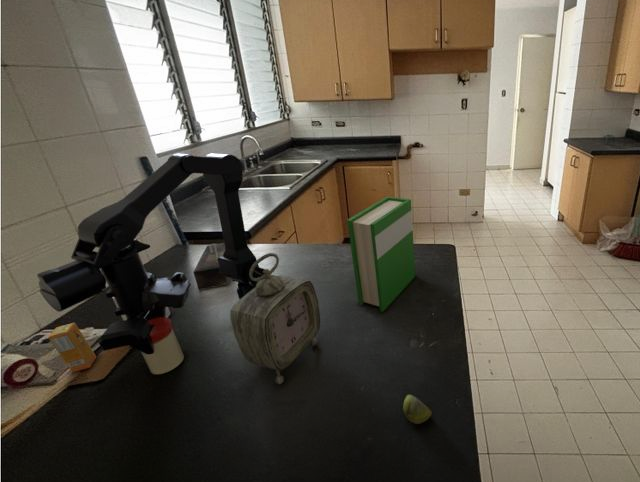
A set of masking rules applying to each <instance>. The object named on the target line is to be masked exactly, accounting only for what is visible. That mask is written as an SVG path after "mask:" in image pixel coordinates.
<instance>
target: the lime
mask: <svg viewBox="0 0 640 482" xmlns="http://www.w3.org/2000/svg"><path fill="white" fill-rule="evenodd" d="M402 409H403V413H404V415H405V417H406V419H407V421H409V422H411V423H413V424H414V425H415V424H416V425H420V424H422V423H425V422H426V421H428V420H429V419H430V418H431V416H432V413H433V412H432V410H431V409H430V408H429V407H428V406H427V405H425V404H424V403H423V402H422V401H421V400H420V399H419V398H418V397H416V396H415V395H413V394H407V395H406V396H405V398H404V401H403V407H402Z"/></svg>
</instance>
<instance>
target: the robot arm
mask: <svg viewBox="0 0 640 482" xmlns="http://www.w3.org/2000/svg"><path fill="white" fill-rule="evenodd" d="M243 168H244V167H243V163H242V161H241V159H239V158H238V157H237V156H236V155H233V154H224V153H209V154H206V155H205V156H196V155H193V154H189V153H187V154H186V153H174V154H172V155H171V156H169V157H168V159H167V160H166V162H164V163H163V164H162V165H161V166H160V167H158V168H157V169H156V170H154V171H153V173H151V174H150V175H149V176H148V177H146V178H145V179H144V180H143V181H142V182H141V183H139V185H137V186H136V187H135V188H134V189H133V190H131V191H130V192H129V193H128V194H127V195H126V196H125V197H122V199H120V200H118V201H116V202H114V203H112V204H110V205H107V206H104V207H102V208H100V209H99V210H97V211H95V212H94V213H92V214H90V215H89V216H87V217H85V218H84V219H82V220H81V222H80V223H79V224H78V226H77V233H78V234H77V235H78V239H77V242H76V244H75V246H74V249H73V251H72V254H71V256H70V258H71V260H74V261H71V262H69V263H68V262H67V263H66V264H63V265H60V266H58V267H55V268H52V269H47V270H43V271H41V272H39V273H37V274H36V276H37V277H38V280H39V281H38V286H39V287H38V288H39V289H38V291H39V293H40V294H41V296H42V298H43V299H44V300H45V301H46V302H47V304H48V305H49V306H50V307H51V308H52V309H53V310H55V312H59V313H60V312H63V311H66V310H67V309H69V308H71V307H73V306H75V305H77V304H79V303H83V302H84V301H86V300H89V299H91V298H93V297H95V296H97V295H99V294H101V293H103V290H106V289H107V285H108V288H109V289H108V290H107V291H106V292H105V296H106V297H107V299H111V298H112V297H114V298H115V300H116V302H117V304H118V306H119V307H118V308H117V307H116V310H114V314H115V315H116V317H119V316H121V315H126V319H127V320H125V321H123V320H120V321H115V322H111V323H110V324H109V325H108V327H107V328H106V330H105V331H104V332H103V333H102V335H101V336H100V337H99V339H97V343H98V345H99V346H100V348H101V350H102V351H104V352H105V351H110V350H114V349H119V348H123V347H128V346H129V347H131V348H133V349H135V350H137V351H139V352H140V353H141V352H143V353H145V354H147V355H149V354H153V353H154V347H153V343H152V339H151V336H150V332H151V331H152V329H153V327H154V326H155V324H152V325H150V324H149V322H148V320H151V319H154V318H159V317H166V307H168V308H172V309H181V308H183V307H184V305H185V304H186V301H187V300H188V297H189V290H190V287H191V283H190V280H189V279H188V278H187V276H186V274H185V273H184V272H178V271H177V272H174V274H173V275H172V276H171V277H168V276H167V277H160V278H157V276H156V275H154V274H153V273H151V274H148V275H147V273H148V272H147V270H146V268H145V266H144V263H143V261H142V259H141V256H140V254H139V253H141V252H143V251H146V250H148V249H150V248H151V244H149V243H145V242H141V241H140V240H138V239H136V238H137V236H138V235H139V234H140V232H141V231H142V230H143V228H144V225H145V221H146V219H147V217H148V216H149V215H150V214H151V213H152V212H153V211H154V210H155V209H156V208H157V207H158V206H159V205H160V204H161V203H162V202H164V201H165V200H166V199H167V198H168V197H169V196H170V195H171V194H172V193H173V192H174V191H175V190H176V189H178V187H179V186H181V185H182V184H183V183H184V182H185V181H186V180H187V179H188V178H189V177H190V176H191V175H193V174H202V175H203V178H204V181H205V182H206V184H207V185H208V186H209V188H210V190H212V192H213V194H214V197H215V202H216V208H217V213H218V218H219V223H220V229H221V232H222V233H221V234H222V238H223V243H224V244H225V252H224V254H223V256H222V257H218V258H217V261H218V263H219V268H220V269H219V272H221V273H222V274H223V276H224V277H226V278H228V279H229V280H231V282H235V283H237V287H236V293H237V296H238V301H239V300H240V299H241V298H242V297H244V296H245V295H246V294H247V293H249V292H250V291H251V290H252V289H254V288H255V287H256V284H257V283H258V282H259V281H252V280H251V279H250V275H249V274H250V269H251V267H252V265H253V264H254V262H255V261H257V260H258V259H257V257H256V255H255V254H254V253H253V252H252V250H251V249H250V248H249V246H248V241H247V240H248V239H247V234H246V229H245V224H244V223H245V222H244V217H243V211H242V205H241V200H240V194H239V193H240V192H239V190H240V188H241V186H242V183H243V180H244V178H243V177H244V175H243V174H244V173H243V172H244V171H243ZM96 248H98V250H97V251H94V250H95V249H96ZM265 269H266V268H263V267H260V266H259V264H258V265H257V266H256V267H255V269H254V271H253V274H252V277H253V278H259V277H261V276H263V275H264V274H263V271H264V270H265Z"/></svg>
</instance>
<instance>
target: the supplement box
mask: <svg viewBox="0 0 640 482" xmlns="http://www.w3.org/2000/svg"><path fill="white" fill-rule="evenodd" d="M47 338H48V340H49V341H50V343H51V344H52V345H53V347H54V349H55V350H56V351H57V353H58V354H59V355H60V357H61V358H62V360H63V361H64V363H65V364H66V365H67V367H68V368H69V370H70V371H71V373H76V372H81V371H83V370H86V369H90V368H91V367H92V365H93V364H94V363H95V360H96V358H97V356H96V354H95V351H94V350H93V348H92V347H91V345H90V343H89V342H88V341H87V339H86V337H85V336H84V334H83V333H82V331H81V330H80V328H79V327H78V325H77V324H76V322H71V323H68V324H63V325H60V326H57V327H55V328H54V329H53V331H52V332H51V333H50V334H49V336H48V337H47Z"/></svg>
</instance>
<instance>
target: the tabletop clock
mask: <svg viewBox="0 0 640 482" xmlns="http://www.w3.org/2000/svg"><path fill="white" fill-rule="evenodd" d="M269 257H274V258H275V264H274V265H273V267H272V268H271V269H270V270H269V269H268V268H264V269H265V270H264V271H263V274H264V275H263V276H261V277H259V278H253V277H252V274H253V271H254V269H255V267H256V266H257V265H259V264H260V263H261V262H262V261H264V260H265V259H268V258H269ZM256 260H257V261H255V262H254V264H253V265H252V267H251V269H250V274H249V275H250V279H251V280H252V281H259V282H258V283H257V284H256V287H255V288H254V289H252V290H251V291H250V292H249V293H247V294H246V295H245V296H244V297H242V298H241V299H240V300H239V299H238V300H237V301H236V302H235V303H234V304H233V306H232V307H231V308H230V322H231V326H232V330H233V335H234V338H235V339H236V342H237V344H238V347H239V349H240V351H241V354H242V355H243V357H244V358H245V360H247V361H248V362H249V363H252V364H255V365H258V366H261V367H263V368H267V369H271V370H274V371H275V373H276V377H275V378H274V382H275V384H276V385H281V384H283V383H284V380H285V378H284V376H283V375H281V372H282V371H284V370H285V369H287V368H288V367H290V366H291V364H293V362H294V361H295V360H297V358H299V357H300V356H301V354H302V353H303V352H304V351H305V350H306V349H307V347H308V346H309V345H310V346H316V345H317V343H318V339H317V338H316V336H317V334H318V333H319V331H320V327H321V313H320V306H319V300H318V296H317V293H316V290H315V287H314V285H313V283H312V282H311V280H309V279H306V278H305V279H304V278H300V277H293V276H289V275H283V274H279V275H275V274H273V273H274V272H275V271H276V270H277V268H278V266H279V262H280V258H279V256H278V254H276V253H273V252H270V253H269V252H268V253H266V254H263V255H262V256H260V257H259V258H258V259H256Z"/></svg>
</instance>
